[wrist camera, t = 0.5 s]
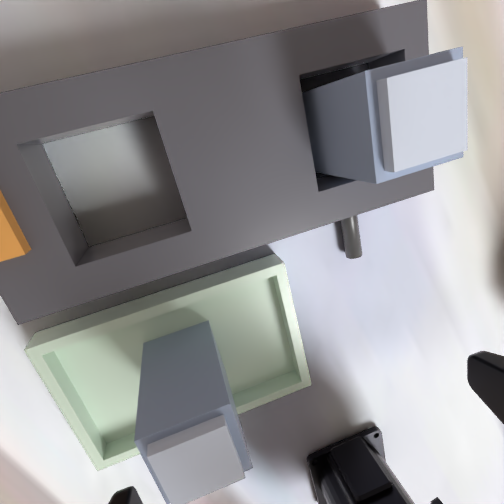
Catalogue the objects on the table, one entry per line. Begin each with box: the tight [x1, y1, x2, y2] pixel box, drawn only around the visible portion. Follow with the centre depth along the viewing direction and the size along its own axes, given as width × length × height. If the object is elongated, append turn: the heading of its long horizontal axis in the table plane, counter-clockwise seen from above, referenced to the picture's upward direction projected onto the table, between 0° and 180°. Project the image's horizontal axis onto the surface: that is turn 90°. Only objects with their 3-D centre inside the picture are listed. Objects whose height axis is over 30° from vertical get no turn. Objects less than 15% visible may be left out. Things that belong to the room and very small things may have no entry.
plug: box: [134, 320, 253, 504], centre depth 17 cm, size 4×4×8 cm
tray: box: [24, 254, 312, 471], centre depth 20 cm, size 9×14×2 cm, turn 105°
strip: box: [0, 0, 434, 325], centre depth 16 cm, size 9×22×4 cm, turn 104°
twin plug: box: [302, 46, 467, 259], centre depth 17 cm, size 10×4×8 cm, turn 15°
